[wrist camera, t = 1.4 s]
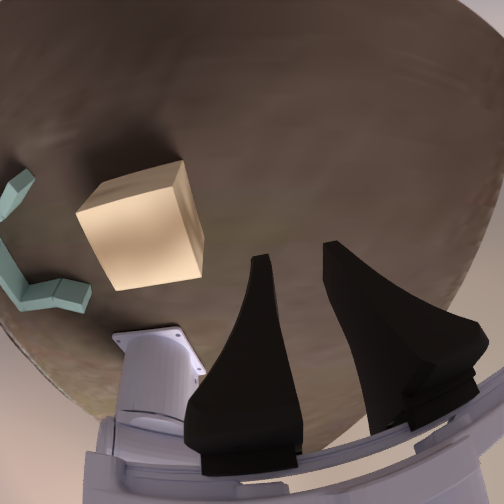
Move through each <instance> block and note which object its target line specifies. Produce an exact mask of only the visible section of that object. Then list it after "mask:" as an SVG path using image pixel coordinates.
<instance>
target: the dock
mask: <svg viewBox="0 0 504 504" xmlns="http://www.w3.org/2000/svg"><path fill="white" fill-rule="evenodd" d="M34 180H35V177H34V176H33V175H32V174H31V173H30V172H29V171H28V169H27V168H26V169H25V170H24V171H22V172H21V173H20V174H18V175H17V176H16V177H14V178H13V179H12V180H10V181H9V182H8V184H7V186H6V188H5V190H4V192H3V194H2V196H1V198H0V222H1V221H3V220H4V219H5V218H6V217H7V216H8V215H9V214H10V213H11V212H12V211H13V210H14V209H15V208H16V207H17V206H18V205H19V204H20V203H21V202H22V200H23V199H24V197H25V195H26V193H27V192H28V190H29V188H30V187H31V185H32V183H33V182H34ZM0 285H1V287H2V288H3V289H4V291H5V292H6V294H7V295H8V296H9V298H10V299H11V300H12V302H13V303H14V304H15V306H16V307H17V308H18V309H19V311H20V312H22V311H30V310H38V309H46V308H53V307H59V308H63V309H67V310H71V311H75V312H79V313H83V314H84V312H85V310H86V307H87V304H88V302H89V299H90V297H91V294H92V292H91V285H90V284H86V283H82V282H77V281H73V280H68V279H64V278H63V279H61V278H59V279H55V280H50V281H46V282H41V283H37V284H32V285H29V283H28V282H27V280H26V279H25V277H24V276H23V274H22V273H21V271H20V270H19V268H18V267H17V265H16V263H15V262H14V260H13V258H12V257H11V255H10V253H9V252H8V250H7V248H6V247H5V245H4V243H3V241H2V239H1V238H0Z"/></svg>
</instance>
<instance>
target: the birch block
mask: <svg viewBox="0 0 504 504" xmlns="http://www.w3.org/2000/svg"><path fill="white" fill-rule="evenodd" d="M76 215H77V218H78V220H79V222H80V224H81V226H82V228H83V230H84V232H85V234H86V237H87V239H88V241H89V243H90V245H91V246H92V248H93V250H94V252H95V254H96V256H97V258H98V260H99V262H100V264H101V265H102V267H103V269H104V271H105V273H106V274H107V276H108V278H109V280H110V281H111V283H112V285H113V286H114V288H115V290H116V291H119V290H126V289H132V288H138V287H145V286H151V285H157V284H163V283H169V282H175V281H182V280H188V279H194V278H199V277H202V261H203V246H204V235H203V232H202V228H201V225H200V221H199V218H198V214H197V211H196V207H195V203H194V200H193V196H192V192H191V189H190V185H189V181H188V177H187V173H186V170H185V166H184V162H183V160H181V161H176V162H172V163H168V164H164V165H160V166H156V167H153V168H149V169H145V170H142V171H138V172H135V173H131V174H128V175H124V176H121V177H118V178H114V179H111V180H108V181H105V182H102V183H101V184H100V185H99V186H98V187H97V188H96V190H95V191H94V192H93V193H92V194H91V195H90V196H89V198H88V199H87V200H86V201H85V202H84V203H83V205H82V206H81V207H80V208H79V210H78V211H77V212H76Z"/></svg>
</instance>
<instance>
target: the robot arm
mask: <svg viewBox="0 0 504 504" xmlns="http://www.w3.org/2000/svg"><path fill="white" fill-rule="evenodd" d="M323 282H324V285H325V289H326V292H327V295H328V298H329V301H330V303H331V305H332V307H333V310H334V312H335V314H336V316H337V319H338V321H339V323H340V325H341V327H342V330H343V332H344V334H345V336H346V339H347V341H348V344H349V346H350V349H351V352H352V355H353V358H354V362H355V365H356V369H357V373H358V376H359V380H360V384H361V388H362V393H363V397H364V402H365V406H366V412H367V417H368V423H369V430H370V435H371V436H369V437H366V438H363V439H360V440H357V441H354V442H351V443H347V444H344V445H340V446H336V447H333V448H329V449H325V450H321V451H316V452H312V453H307V454H302V443H303V419H302V414H301V410H300V405H299V401H298V397H297V393H296V389H295V385H294V381H293V377H292V373H291V370H290V365H289V361H288V357H287V353H286V349H285V345H284V341H283V337H282V332H281V328H280V324H279V314H278V306H277V299H276V292H275V285H274V278H273V272H272V265H271V261H270V258H269V255H268V254H263V255H258V256H253V257H252V258H251V269H250V276H249V281H248V285H247V290H246V294H245V297H244V300H243V303H242V306H241V309H240V312H239V315H238V318H237V320H236V323H235V325H234V327H233V330H232V332H231V334H230V336H229V338H228V340H227V342H226V344H225V346H224V348H223V350H222V352H221V354H220V355H219V357H218V359H217V360H216V362H215V363H214V365H213V367H212V368H211V370H210V371H209V373H208V374H207V376H206V377H205V379H204V380H203V381H202V383H201V384H200V385H199V387H198V375H204V374H206V370H205V368H204V367H203V365H202V363H201V362H200V360H199V358H198V357H197V355H196V353H195V352H194V350H193V348H192V347H191V345H190V343H189V342H188V340H187V338H186V337H185V335H184V333H183V331H182V330H181V328H180V327H177V326H175V327H167V328H159V329H150V330H141V331H132V332H122V333H114V334H113V335H112V339H113V340H114V341H115V342H116V343H117V345H118V346H119V347H120V348H121V349H122V351H123V352H124V353H125V357H124V362H123V367H122V373H121V378H120V384H119V390H118V397H117V404H116V411H115V415H114V417H111V416H106V418H104V419H102V420H101V422H100V427H99V432H98V438H97V447H96V452H90V451H87V452H86V456H85V466H84V480H83V481H84V482H83V504H489V501H488V496H487V493H486V489H485V484H484V480H483V476H482V473H481V470H480V460H479V457H480V456H481V455H482V454H484V453H485V452H486V451H487V450H488V449H490V448H491V447H492V446H493V445H494V444H495V443H496V442H497V441H499V439H501V438H502V437H503V436H504V367H503V368H501V369H500V370H499V371H497V372H496V373H494V374H493V375H491V376H490V377H489V378H487V379H486V380H484V381H483V382H481V383H480V384H478V385H477V384H476V382H475V381H474V379H473V377H474V376H475V375H476V372H475V370H474V368H473V366H474V365H475V364H476V362H477V361H478V360H479V359H480V357H481V356H482V355H483V354H484V352H485V351H486V349H487V347H488V345H489V340H488V338H487V336H486V335H485V333H484V331H483V330H482V328H481V326H480V325H479V323H478V322H475V321H473V320H469V319H466V318H463V317H460V316H457V315H454V314H452V313H449V312H447V311H444V310H442V309H440V308H437V307H435V306H433V305H431V304H429V303H427V302H425V301H423V300H421V299H419V298H417V297H415V296H413V295H411V294H410V293H408V292H406V291H405V290H403V289H401V288H400V287H398V286H396V285H395V284H393V283H392V282H390V281H389V280H387V279H386V278H384V277H383V276H382V275H380V274H379V273H377V272H376V271H375V270H373V269H372V268H371V267H369V266H368V265H367V264H366V263H364V262H363V261H362V260H361V259H359V258H358V257H357V256H356V255H354V254H353V253H352V252H351V251H349V250H348V249H347V248H346V247H345V246H343V245H342V244H341V243H340V242H338V241H332V242H326V243H323ZM448 420H449V421H448ZM446 421H448V423H447V424H446V425H445V426H443V427H442V428H440V429H438V430H436V431H434V432H433V433H432V434H431V435H429V436H428V437H426V438H425V439H423V440H422V441H420V442H418V443H417V444H415V445H414V449H415V452H416V455H414V456H411V457H409V458H407V459H405V460H402V461H400V462H398V463H395V464H393V465H390V466H388V467H385V468H383V469H380V470H377V471H375V472H372V473H369V474H366V475H363V476H360V477H357V478H354V479H351V480H347V481H344V482H340V483H337V484H333V485H329V486H325V487H321V488H317V489H312V490H307V491H302V492H297V493H292V494H290V492H289V487H288V485H287V484H284V483H283V482H271V483H258V484H245V485H244V484H242V483H240V482H246V481H256V480H265V479H273V478H280V477H286V476H292V475H297V474H303V473H307V472H312V471H317V470H321V469H325V468H329V467H333V466H337V465H340V464H344V463H347V462H351V461H354V460H357V459H360V458H363V457H366V456H369V455H372V454H375V453H378V452H381V451H383V450H386V449H388V448H391V447H393V446H396V445H398V444H401V443H403V442H405V441H408V440H410V439H412V438H414V437H416V436H418V435H421V434H422V433H425V432H427V431H429V430H431V429H433V428H435V427H437V426H439V425H440V424H442V423H444V422H446Z"/></svg>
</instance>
